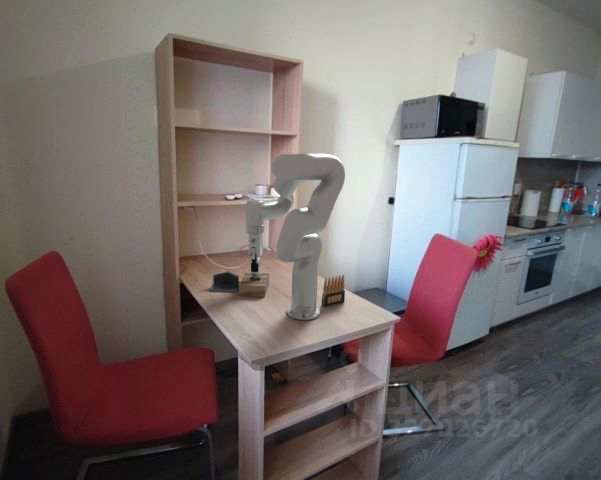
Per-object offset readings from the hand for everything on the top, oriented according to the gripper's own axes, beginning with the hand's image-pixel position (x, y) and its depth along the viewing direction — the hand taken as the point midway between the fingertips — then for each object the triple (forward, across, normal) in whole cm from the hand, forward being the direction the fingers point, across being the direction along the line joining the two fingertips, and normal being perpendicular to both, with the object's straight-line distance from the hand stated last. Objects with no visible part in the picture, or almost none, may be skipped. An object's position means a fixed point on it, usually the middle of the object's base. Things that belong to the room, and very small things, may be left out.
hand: (255, 269), depth 155 cm
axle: (+6, 0, 0) cm, 6 cm away
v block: (+9, +2, +13) cm, 16 cm away
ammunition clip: (+10, -12, -34) cm, 37 cm away
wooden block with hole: (+9, 0, 0) cm, 9 cm away
